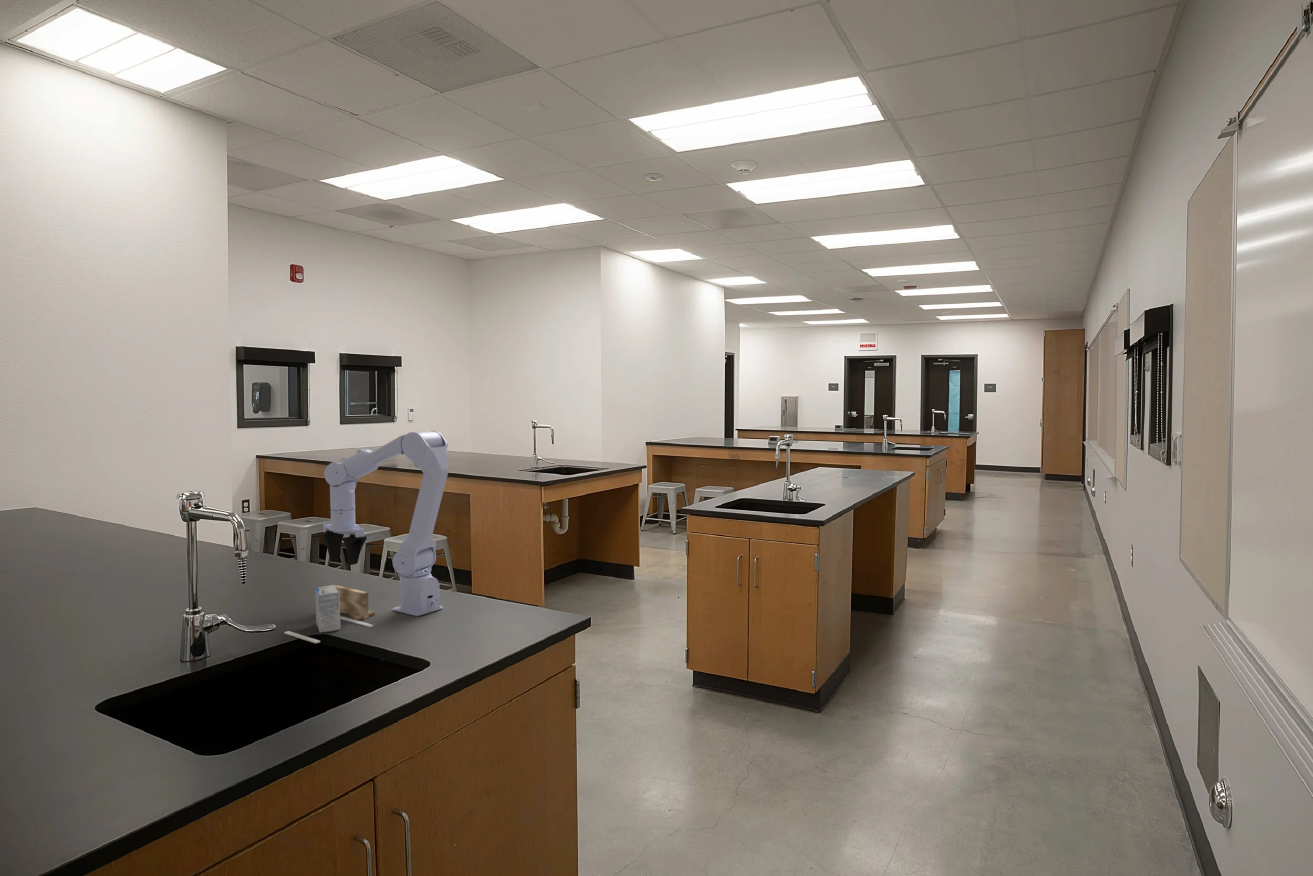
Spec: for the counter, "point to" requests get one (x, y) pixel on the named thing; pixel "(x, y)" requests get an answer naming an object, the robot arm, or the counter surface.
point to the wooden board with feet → (354, 603)
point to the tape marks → (318, 640)
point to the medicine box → (327, 608)
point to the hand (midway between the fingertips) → (344, 562)
